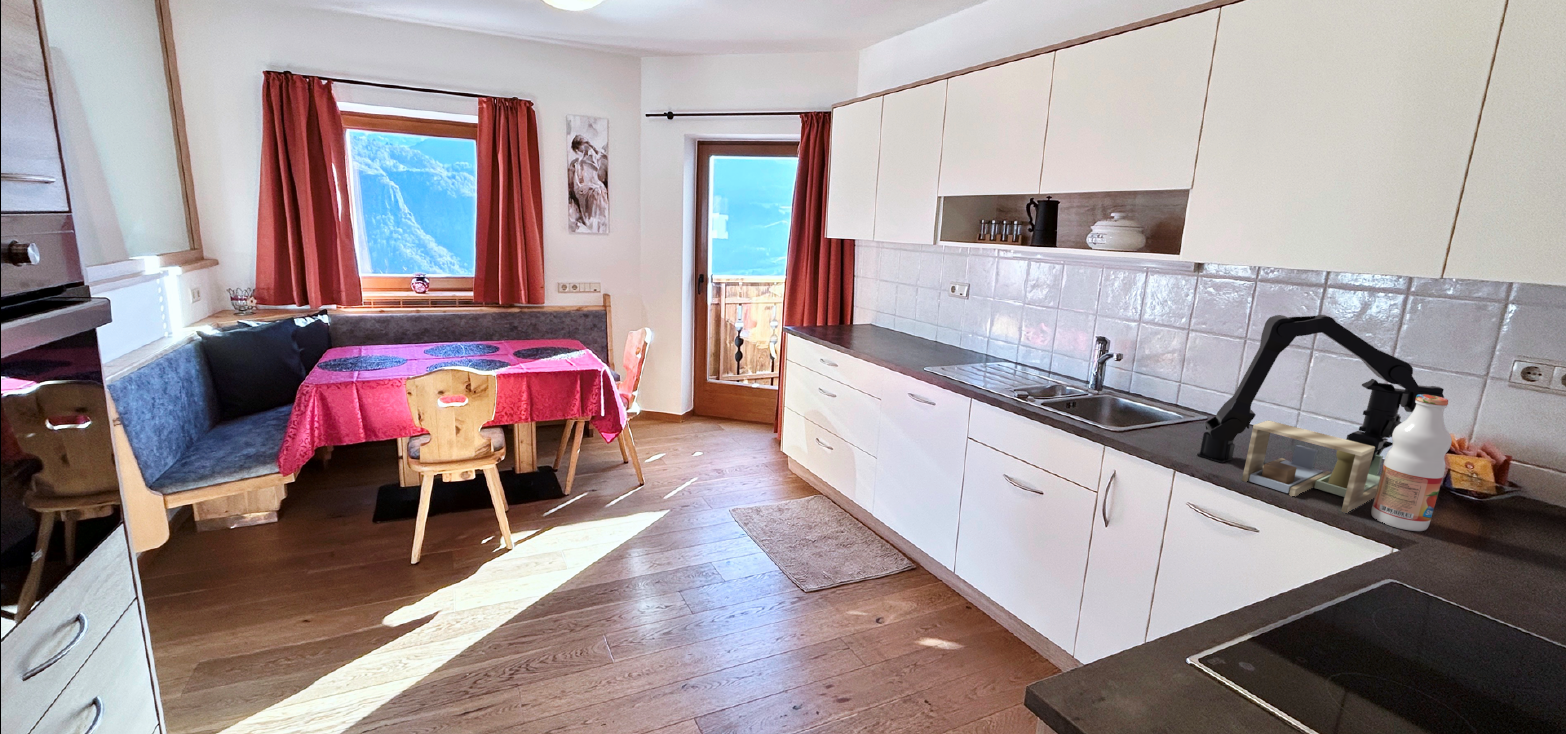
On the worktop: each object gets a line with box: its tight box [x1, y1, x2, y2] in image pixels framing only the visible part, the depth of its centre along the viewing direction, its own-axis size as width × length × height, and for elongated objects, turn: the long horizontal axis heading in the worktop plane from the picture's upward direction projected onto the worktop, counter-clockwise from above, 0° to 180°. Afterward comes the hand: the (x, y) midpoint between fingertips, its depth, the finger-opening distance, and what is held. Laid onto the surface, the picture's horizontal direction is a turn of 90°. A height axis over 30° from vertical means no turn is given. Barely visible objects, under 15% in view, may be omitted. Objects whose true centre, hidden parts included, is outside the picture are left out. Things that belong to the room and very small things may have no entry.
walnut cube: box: [1262, 460, 1297, 485], centre depth 165 cm, size 5×5×5 cm
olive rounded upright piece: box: [1328, 450, 1355, 489], centre depth 161 cm, size 6×6×11 cm
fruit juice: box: [1371, 394, 1453, 532], centre depth 144 cm, size 9×9×28 cm
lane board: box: [1241, 420, 1378, 514], centre depth 163 cm, size 21×22×14 cm
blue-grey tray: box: [1248, 444, 1324, 494], centre depth 167 cm, size 8×20×7 cm, turn 124°
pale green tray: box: [1314, 454, 1384, 498], centre depth 165 cm, size 8×20×7 cm, turn 124°
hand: (1366, 468), depth 170 cm, fingers closed
